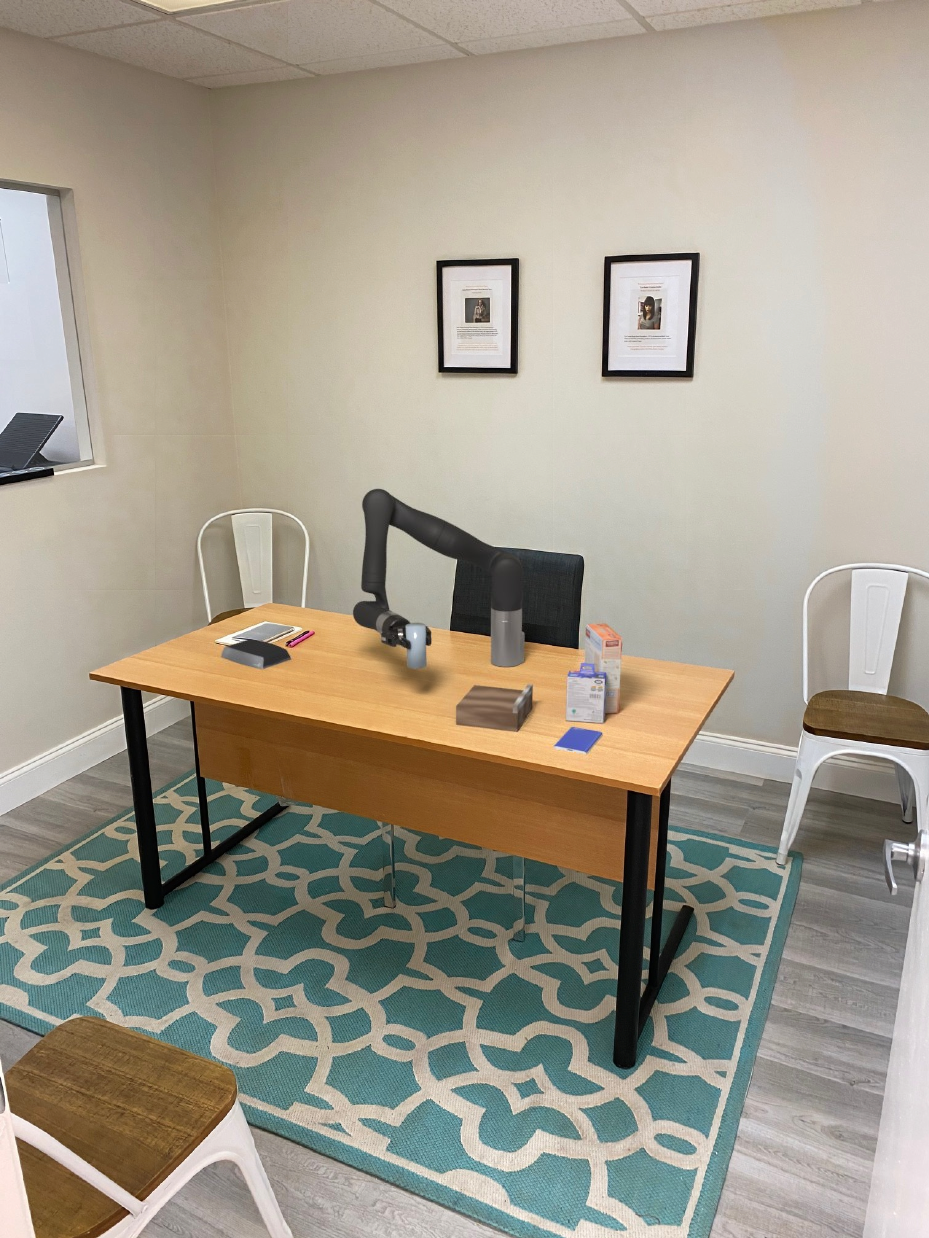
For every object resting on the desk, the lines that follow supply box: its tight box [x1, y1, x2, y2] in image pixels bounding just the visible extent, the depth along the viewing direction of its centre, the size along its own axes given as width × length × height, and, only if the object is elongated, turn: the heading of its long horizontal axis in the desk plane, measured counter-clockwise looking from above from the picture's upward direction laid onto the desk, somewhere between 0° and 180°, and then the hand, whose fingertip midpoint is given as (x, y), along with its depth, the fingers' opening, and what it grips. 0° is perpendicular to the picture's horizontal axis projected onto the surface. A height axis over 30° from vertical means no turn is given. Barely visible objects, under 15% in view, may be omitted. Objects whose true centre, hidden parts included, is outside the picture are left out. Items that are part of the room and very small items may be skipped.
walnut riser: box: [455, 683, 534, 733], centre depth 242 cm, size 16×16×7 cm
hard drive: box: [553, 726, 603, 755], centre depth 227 cm, size 2×8×12 cm
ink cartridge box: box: [565, 662, 606, 724], centre depth 239 cm, size 10×6×14 cm, turn 78°
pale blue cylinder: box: [406, 622, 428, 670], centre depth 247 cm, size 5×5×11 cm
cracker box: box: [583, 622, 623, 715], centre depth 247 cm, size 14×6×21 cm, turn 9°
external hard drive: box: [220, 638, 292, 670], centre depth 288 cm, size 13×19×4 cm
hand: (419, 643), depth 245 cm, fingers closed on pale blue cylinder, 5 cm apart
